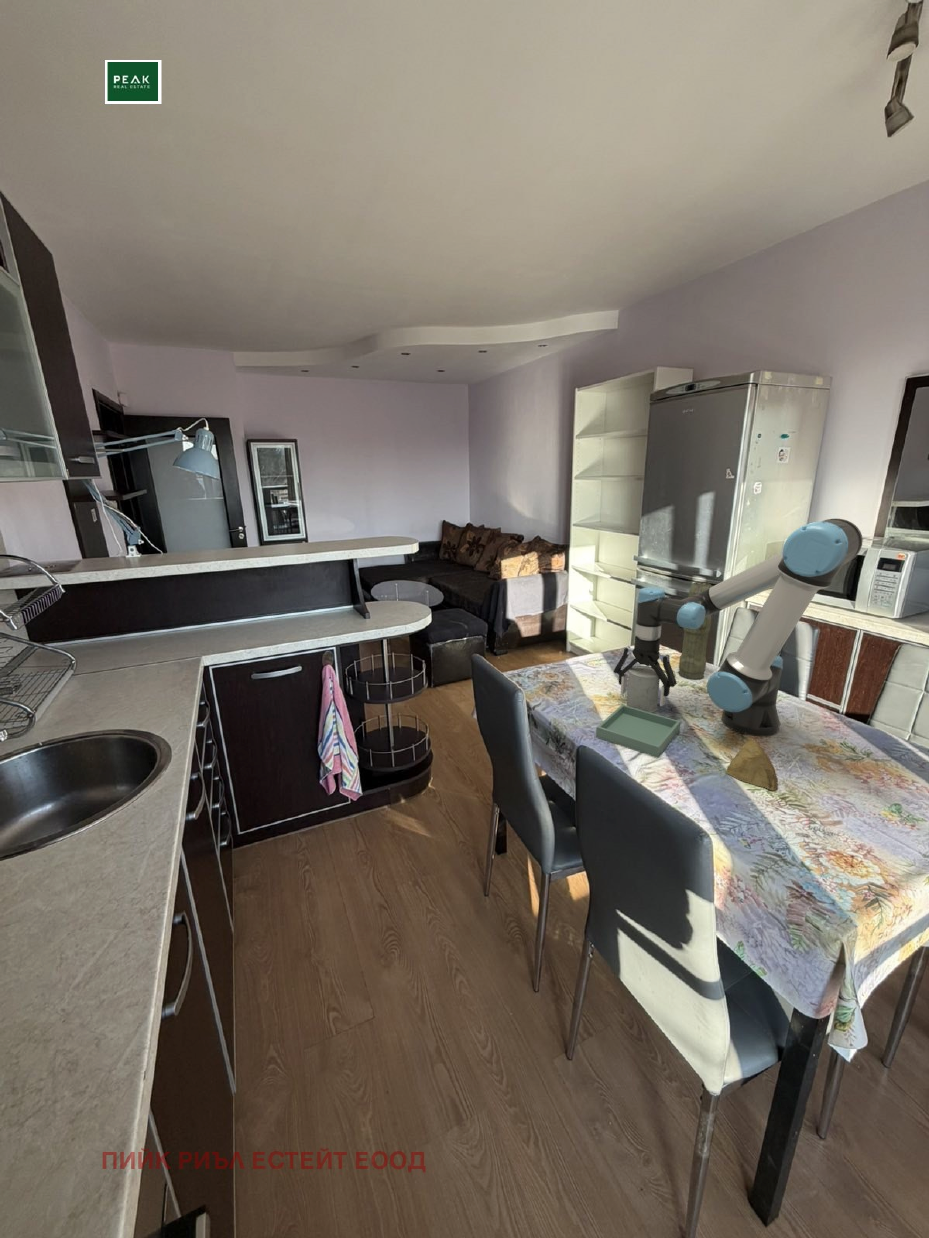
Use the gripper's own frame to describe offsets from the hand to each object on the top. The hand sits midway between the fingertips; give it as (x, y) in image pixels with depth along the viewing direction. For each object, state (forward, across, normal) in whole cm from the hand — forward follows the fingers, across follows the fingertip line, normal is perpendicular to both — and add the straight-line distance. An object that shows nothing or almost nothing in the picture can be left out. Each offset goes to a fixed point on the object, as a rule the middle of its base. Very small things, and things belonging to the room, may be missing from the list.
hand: (642, 699), depth 165 cm
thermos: (+3, -5, -35) cm, 35 cm away
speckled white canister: (+3, 0, 0) cm, 3 cm away
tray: (+2, -6, +18) cm, 19 cm away
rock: (+3, -37, +23) cm, 44 cm away
